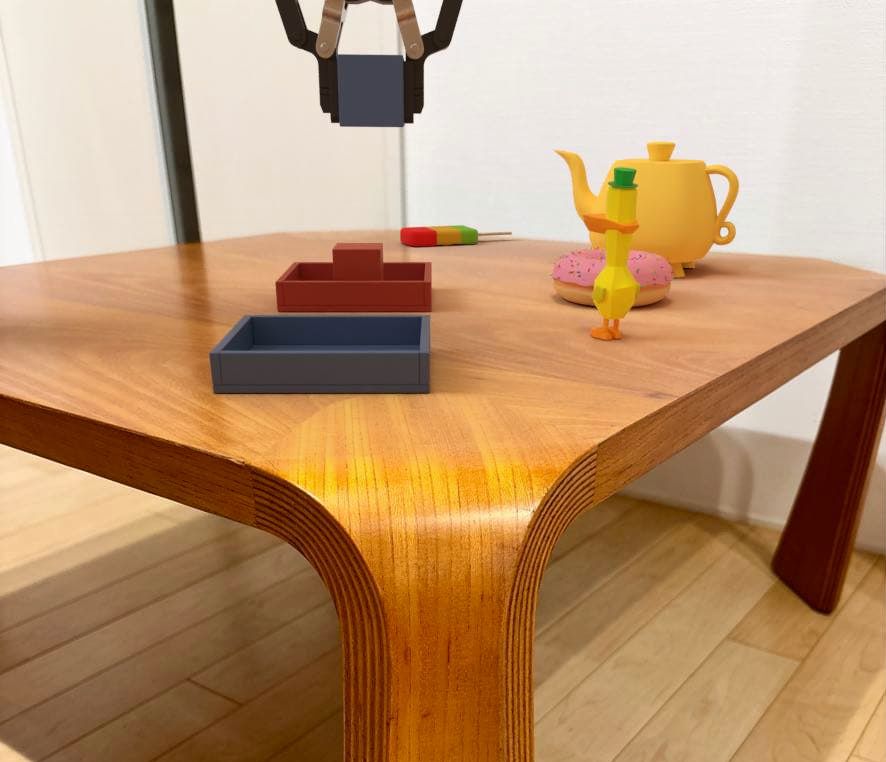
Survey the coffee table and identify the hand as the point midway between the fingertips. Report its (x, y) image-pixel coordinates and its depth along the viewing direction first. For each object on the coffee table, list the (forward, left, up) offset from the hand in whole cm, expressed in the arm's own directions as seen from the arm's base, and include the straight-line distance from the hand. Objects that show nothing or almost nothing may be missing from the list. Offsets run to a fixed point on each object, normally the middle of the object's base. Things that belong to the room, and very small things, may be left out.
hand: (372, 121), depth 62 cm
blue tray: (-3, -8, -15) cm, 17 cm away
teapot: (+26, +35, -15) cm, 46 cm away
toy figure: (+17, +2, -15) cm, 23 cm away
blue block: (0, 0, 0) cm, 0 cm away
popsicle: (+7, +57, -15) cm, 59 cm away
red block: (-3, +17, -14) cm, 22 cm away
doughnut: (+20, +17, -15) cm, 30 cm away
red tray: (-3, +17, -15) cm, 23 cm away
